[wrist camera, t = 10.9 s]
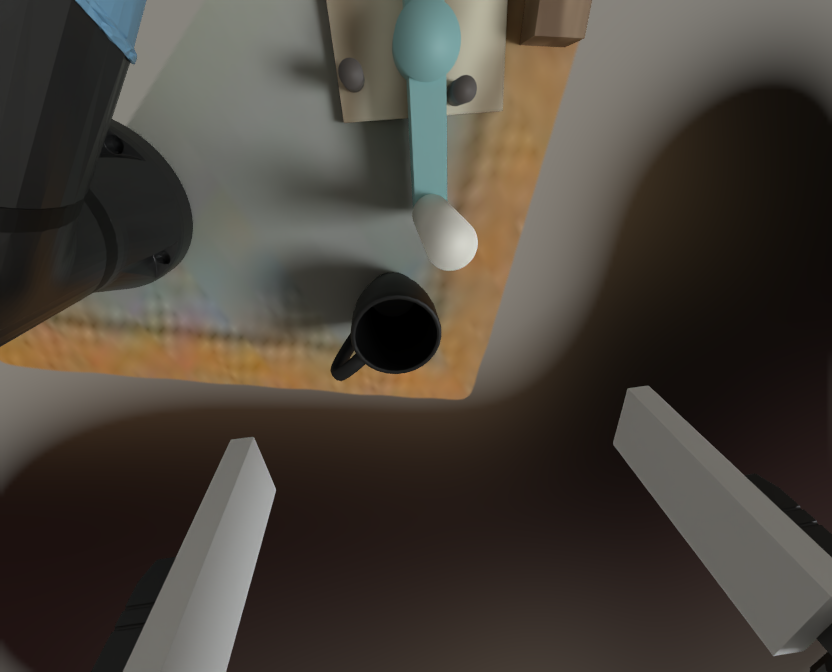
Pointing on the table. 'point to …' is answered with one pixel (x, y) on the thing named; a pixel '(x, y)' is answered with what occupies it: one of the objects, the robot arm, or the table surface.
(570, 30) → the walnut block
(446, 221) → the lever
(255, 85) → the table surface
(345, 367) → the mug
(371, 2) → the press base
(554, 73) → the table surface
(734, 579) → the robot arm
